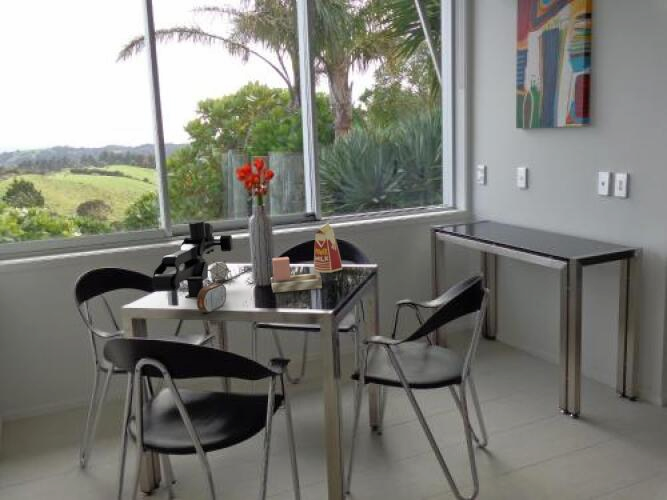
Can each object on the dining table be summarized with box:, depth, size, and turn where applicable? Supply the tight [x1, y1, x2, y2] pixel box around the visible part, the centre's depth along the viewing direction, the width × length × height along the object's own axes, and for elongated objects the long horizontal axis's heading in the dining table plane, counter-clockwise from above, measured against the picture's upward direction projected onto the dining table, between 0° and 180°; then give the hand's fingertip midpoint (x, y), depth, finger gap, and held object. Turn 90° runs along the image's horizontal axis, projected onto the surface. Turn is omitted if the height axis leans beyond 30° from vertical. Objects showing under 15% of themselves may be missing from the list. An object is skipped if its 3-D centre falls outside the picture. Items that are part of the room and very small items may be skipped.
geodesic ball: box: [208, 259, 232, 282], centre depth 270 cm, size 9×8×10 cm
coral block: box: [271, 256, 291, 281], centre depth 248 cm, size 6×5×10 cm
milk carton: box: [313, 221, 343, 273], centre depth 275 cm, size 9×9×20 cm
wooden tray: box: [270, 271, 323, 294], centre depth 250 cm, size 18×13×4 cm
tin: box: [196, 282, 227, 314], centre depth 223 cm, size 15×3×8 cm, turn 159°
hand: (216, 240), depth 267 cm, fingers open, 9 cm apart
